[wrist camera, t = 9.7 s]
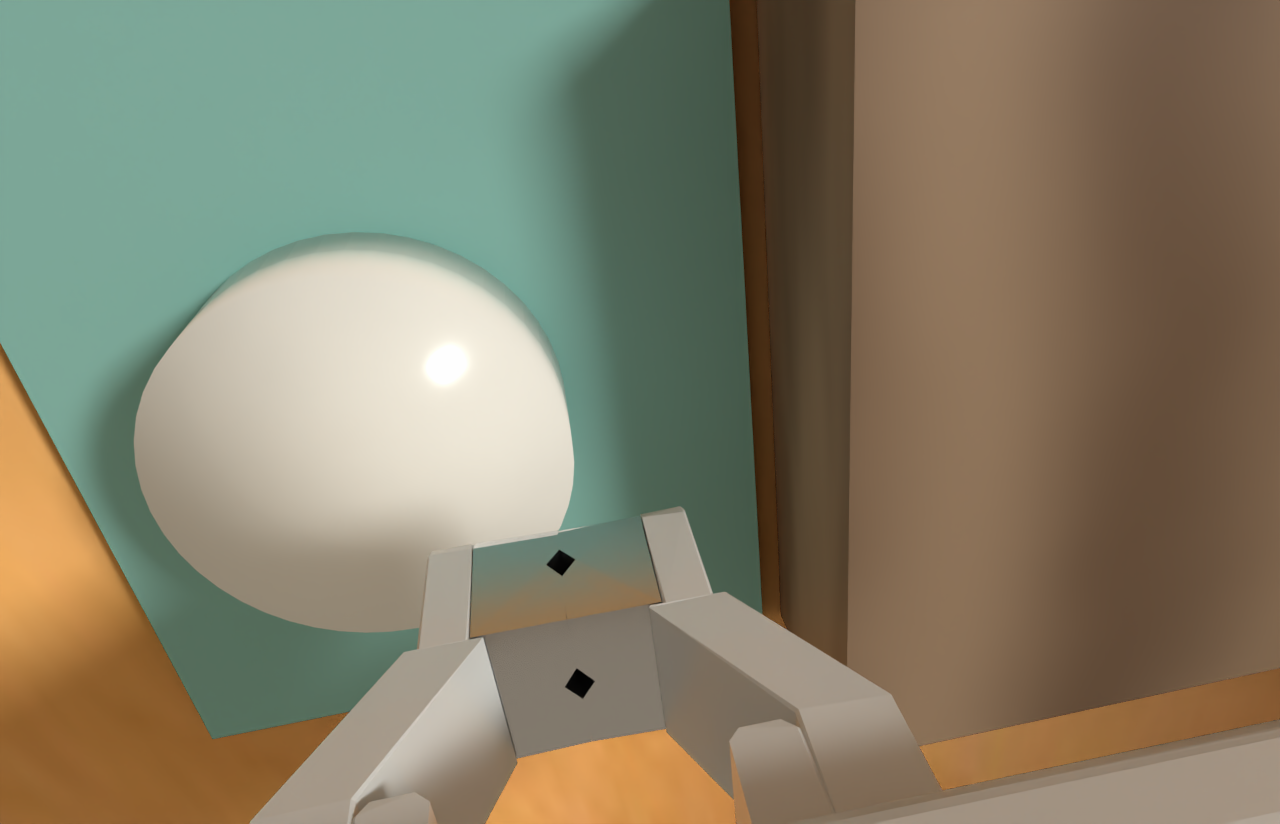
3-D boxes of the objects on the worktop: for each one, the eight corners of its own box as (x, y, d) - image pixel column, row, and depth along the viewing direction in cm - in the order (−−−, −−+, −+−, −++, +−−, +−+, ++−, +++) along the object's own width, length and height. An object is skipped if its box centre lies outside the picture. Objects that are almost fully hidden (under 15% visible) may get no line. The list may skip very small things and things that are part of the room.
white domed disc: (30, 388, 12) (90, 330, 13) (296, 682, 15) (317, 605, 17) (456, 200, 11) (461, 165, 13) (634, 544, 14) (620, 480, 16)
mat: (718, -101, 12) (723, -102, 12) (759, 619, 19) (762, 628, 19) (-162, 10, 11) (-177, 12, 11) (216, 727, 18) (212, 739, 18)
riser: (1379, -186, 13) (1702, -236, 10) (1190, 533, 20) (1338, 655, 16) (751, -106, 12) (857, -129, 9) (780, 614, 19) (846, 762, 16)
